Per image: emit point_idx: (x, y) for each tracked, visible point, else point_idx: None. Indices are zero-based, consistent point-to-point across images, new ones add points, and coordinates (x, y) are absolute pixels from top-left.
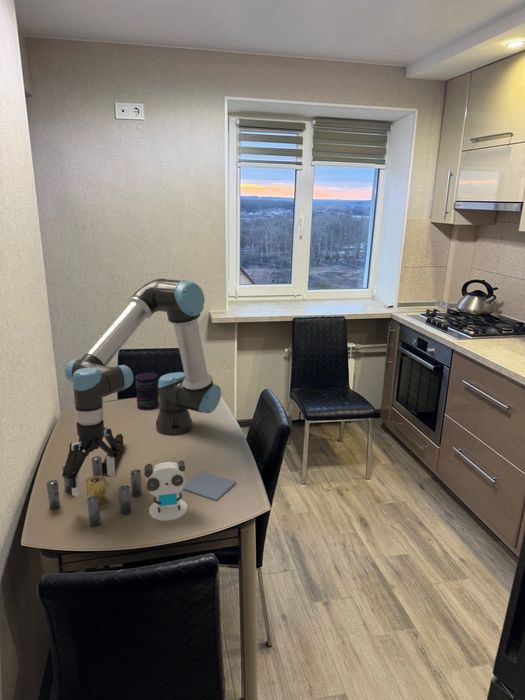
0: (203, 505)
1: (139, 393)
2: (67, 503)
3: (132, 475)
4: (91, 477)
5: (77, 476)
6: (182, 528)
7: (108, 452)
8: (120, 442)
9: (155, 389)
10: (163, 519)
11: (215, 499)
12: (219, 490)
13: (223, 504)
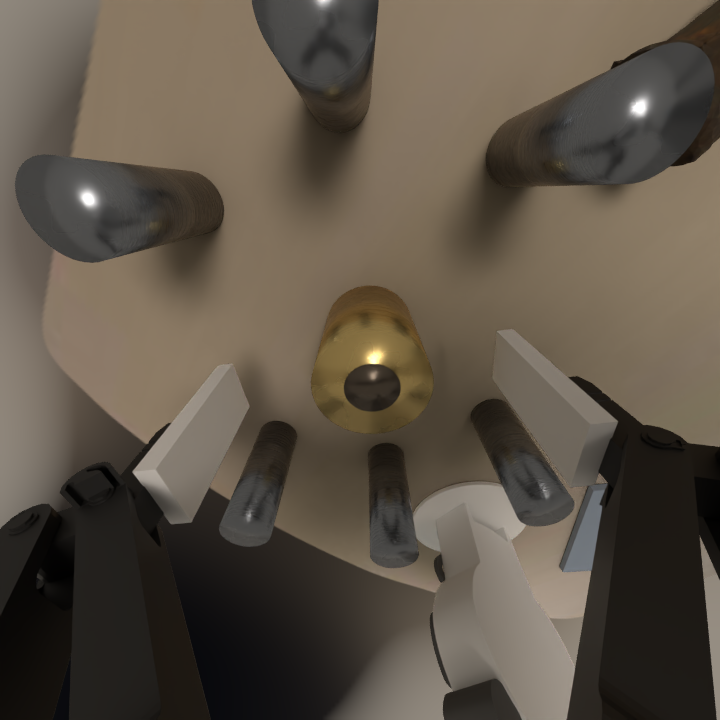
0: (527, 558)
1: None
2: (258, 236)
3: (512, 505)
4: (379, 345)
5: (178, 516)
6: (419, 571)
7: (599, 542)
8: None
9: None
10: (419, 540)
11: (562, 570)
12: None
13: (552, 579)
